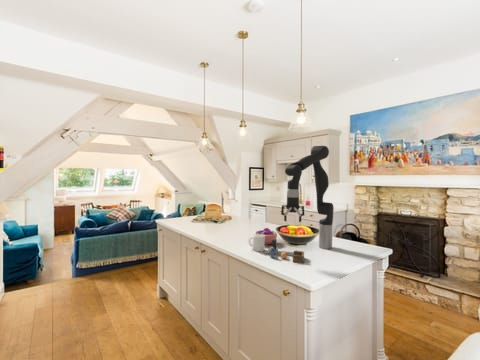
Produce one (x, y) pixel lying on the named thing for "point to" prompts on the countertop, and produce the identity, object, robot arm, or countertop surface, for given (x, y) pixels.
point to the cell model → (268, 235)
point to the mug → (258, 242)
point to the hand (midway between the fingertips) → (292, 221)
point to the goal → (298, 256)
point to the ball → (283, 255)
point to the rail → (281, 252)
